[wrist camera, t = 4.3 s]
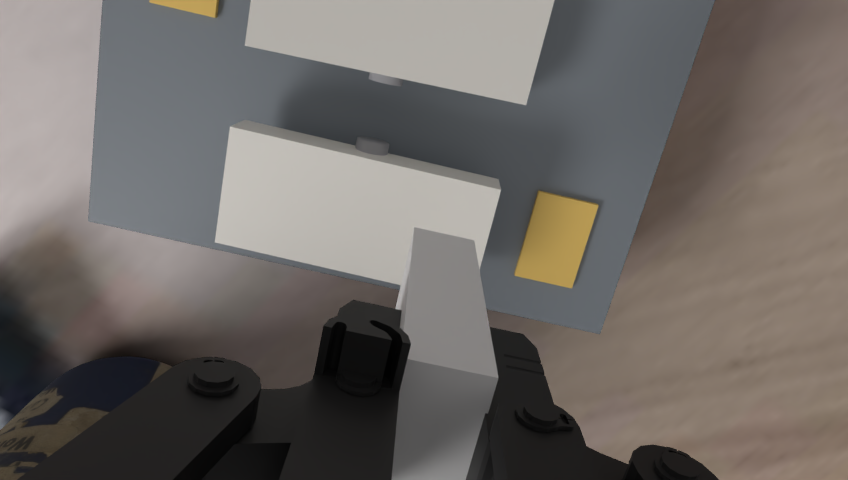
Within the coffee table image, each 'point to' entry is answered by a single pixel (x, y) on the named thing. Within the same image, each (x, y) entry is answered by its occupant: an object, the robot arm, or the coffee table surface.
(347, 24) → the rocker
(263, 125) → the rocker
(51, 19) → the coffee table surface
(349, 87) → the switch unit
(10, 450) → the canister
